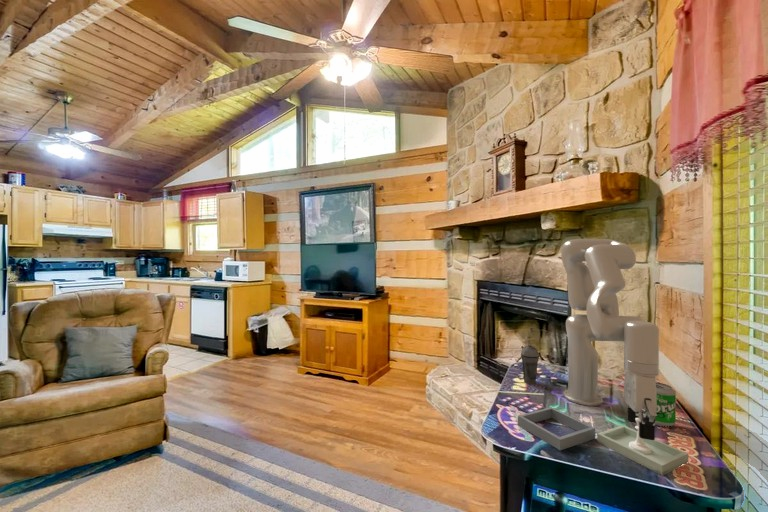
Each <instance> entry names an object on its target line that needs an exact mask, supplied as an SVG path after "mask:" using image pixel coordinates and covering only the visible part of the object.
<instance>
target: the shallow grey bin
mask: <svg viewBox="0 0 768 512" xmlns="http://www.w3.org/2000/svg"><path fill="white" fill-rule="evenodd" d="M549 419H553V420H555V421H557V422H559V423H560V424H563V425H564V426H566V427H569V428H571V429H573V430H574V432H571V433H568V434H565V435H562V436H558V435H557V434H555V433H553V432H552V431H550V430H548V429H546V428H544V427H543V426H541V425H539V424H536V423H539V422H541V421H544V420H549ZM517 426H518V427H520V428H522V429H523V430H525V431H527V432H529V433H530V434H532V435H534V436H535V437H537V438H538V439H540V440H542V441H544V442H545V443H547V444H549V445H550V446H551V447H553V448H555V449H557V450H558V451H562V450H563V451H564V450H566V449H569V448H571V447H574V446H577V445H580V444H583V443H586V442H589V441H591V440H594V439H596V427H594V426H592V425H589V424H588V423H586V422H584V421H581V420H579V419H578V418H575V417H573V416H570V415H569V414H567V413H565V412H562V411H560V410H558V409H556V408H554V407H552V406H550V407H546V408H541V409H538V410H535V411H530V412H526V413H523V414H519V415H517Z"/></svg>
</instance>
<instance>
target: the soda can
mask: <svg viewBox="0 0 768 512" xmlns="http://www.w3.org/2000/svg"><path fill="white" fill-rule="evenodd" d="M656 394H657V410H656V418H655V426H659V427H662V426H663V427H662V428H670V427H669V426H671V427H673V426H674V425H676V406H677V405H676V401H677V400H676V395H677V394H676V390H675V389H673V387H672V386H671V385H669V384H666V383H662V382H657V381H656ZM644 411H647V410H644ZM646 416H648V415H645V414H644V417H646ZM664 426H665V427H664ZM667 426H668V427H667Z"/></svg>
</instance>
